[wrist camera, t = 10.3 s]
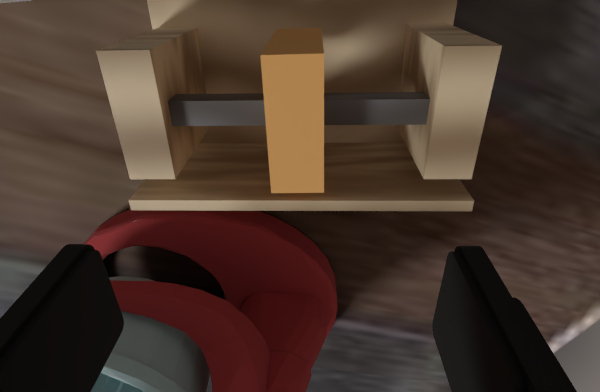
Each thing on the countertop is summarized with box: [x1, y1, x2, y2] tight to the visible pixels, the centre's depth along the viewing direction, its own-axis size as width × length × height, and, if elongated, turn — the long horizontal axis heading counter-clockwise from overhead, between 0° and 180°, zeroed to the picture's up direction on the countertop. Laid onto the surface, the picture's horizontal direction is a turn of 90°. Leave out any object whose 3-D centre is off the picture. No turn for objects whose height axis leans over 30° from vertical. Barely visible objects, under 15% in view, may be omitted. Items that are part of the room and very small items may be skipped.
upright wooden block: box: [260, 28, 324, 193], centre depth 26 cm, size 8×3×10 cm, turn 2°
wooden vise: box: [96, 0, 502, 211], centre depth 28 cm, size 13×23×12 cm, turn 91°
